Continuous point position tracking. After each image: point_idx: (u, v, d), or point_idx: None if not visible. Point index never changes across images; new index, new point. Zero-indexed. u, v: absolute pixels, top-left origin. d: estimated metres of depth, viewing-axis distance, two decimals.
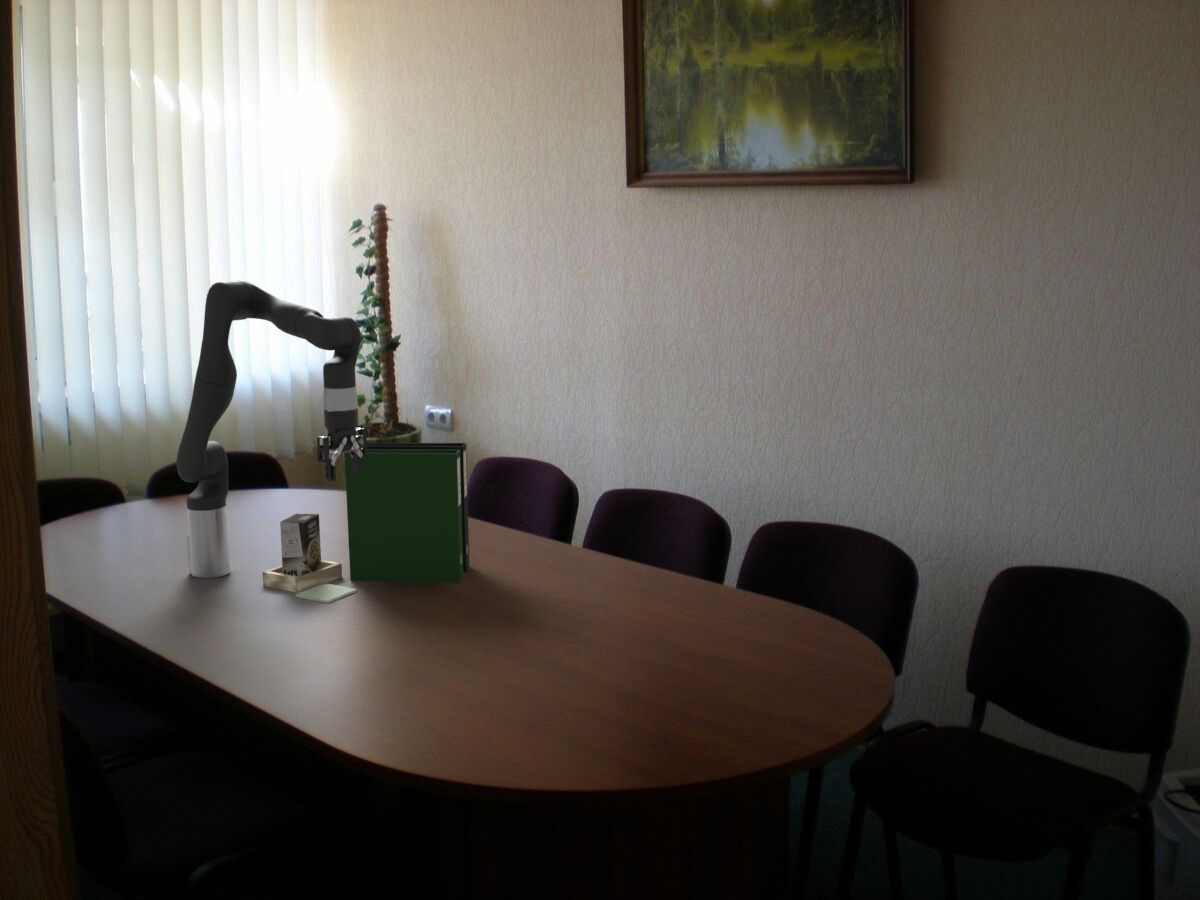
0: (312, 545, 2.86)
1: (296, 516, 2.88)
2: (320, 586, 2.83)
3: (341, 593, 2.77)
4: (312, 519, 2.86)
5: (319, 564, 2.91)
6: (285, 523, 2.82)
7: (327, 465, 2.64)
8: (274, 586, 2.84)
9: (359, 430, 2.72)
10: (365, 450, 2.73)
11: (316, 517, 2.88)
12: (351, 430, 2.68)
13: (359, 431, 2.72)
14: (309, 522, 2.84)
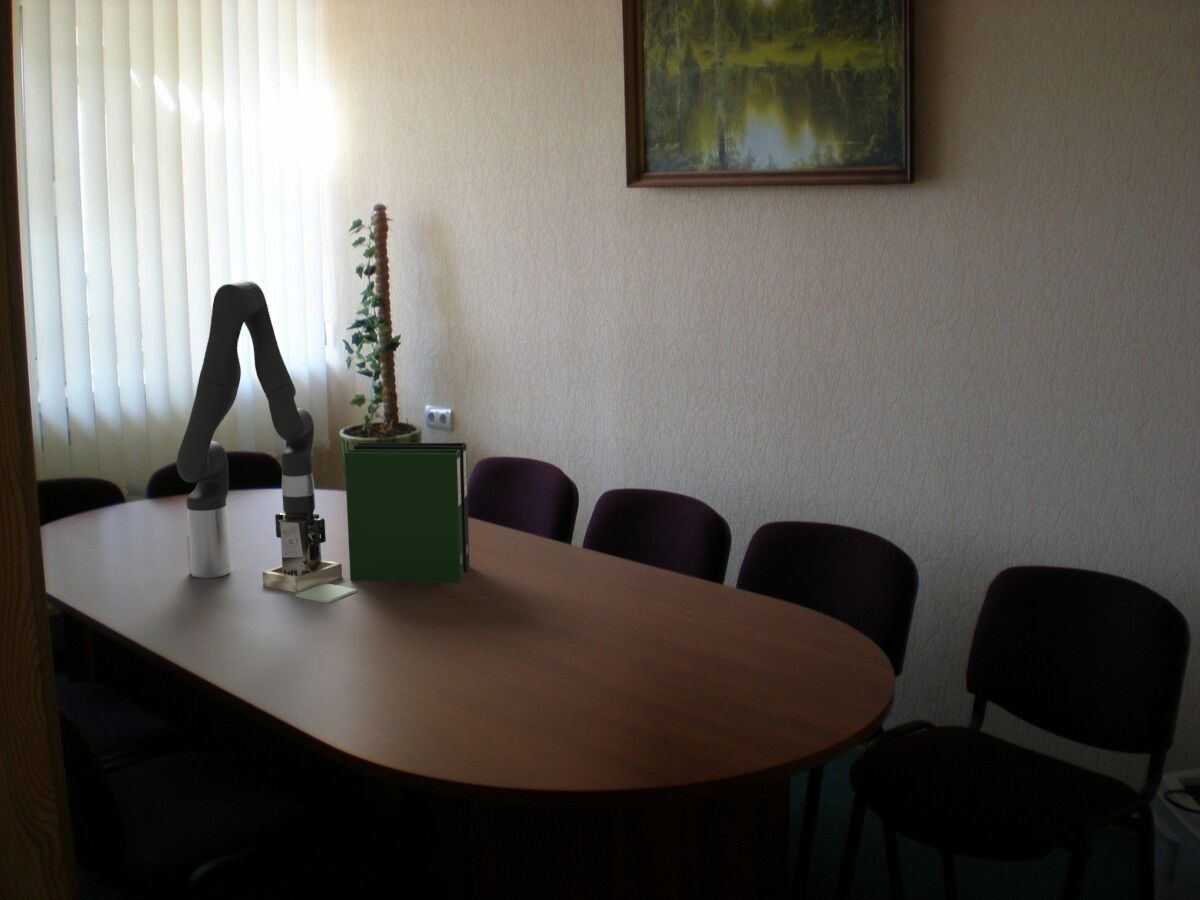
0: None
1: None
2: (320, 586, 2.83)
3: (341, 593, 2.77)
4: None
5: (319, 564, 2.91)
6: (285, 523, 2.82)
7: (317, 545, 2.85)
8: (274, 586, 2.84)
9: None
10: None
11: (316, 517, 2.88)
12: None
13: None
14: None
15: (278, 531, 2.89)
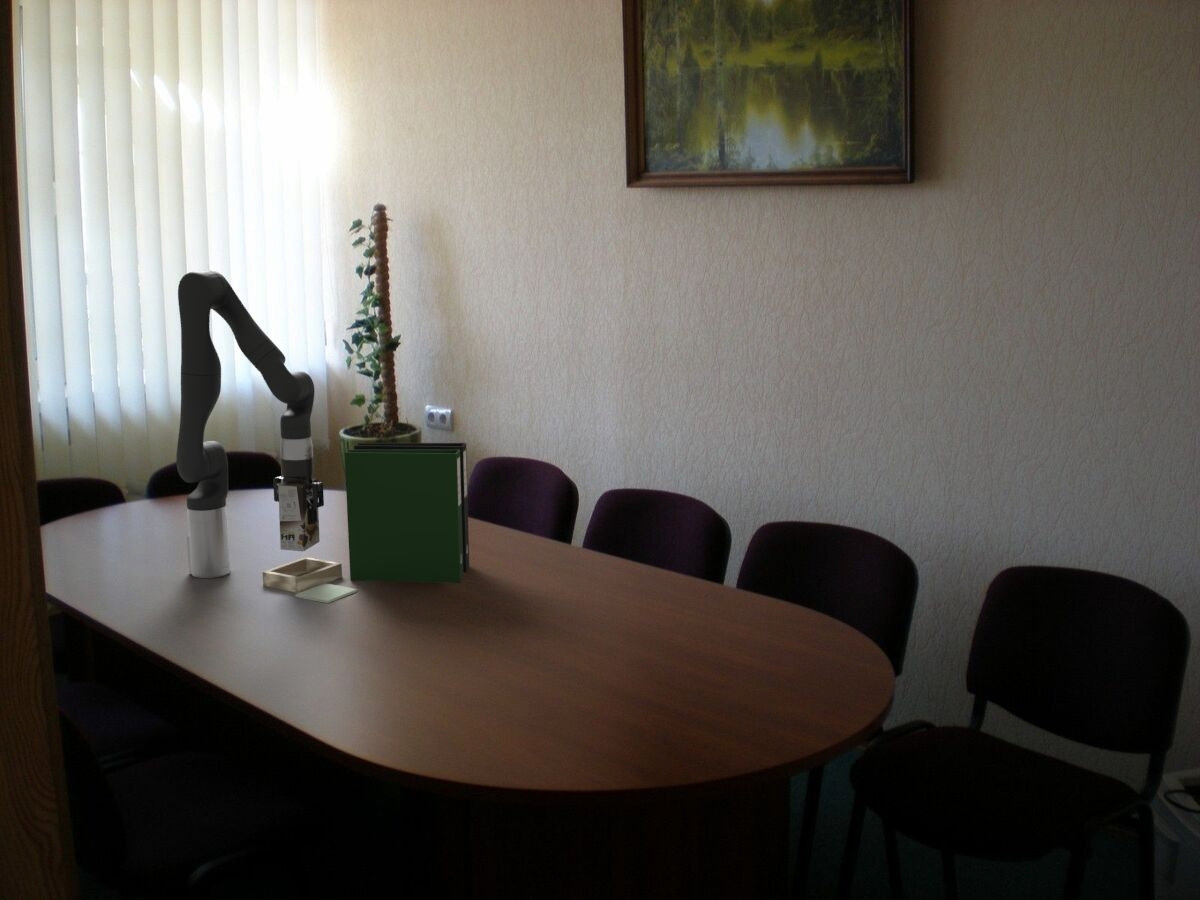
0: None
1: None
2: (320, 586, 2.83)
3: (341, 593, 2.77)
4: None
5: (317, 529, 2.89)
6: (283, 486, 2.81)
7: (315, 509, 2.83)
8: (274, 586, 2.84)
9: None
10: None
11: (314, 481, 2.87)
12: None
13: None
14: None
15: (276, 495, 2.87)
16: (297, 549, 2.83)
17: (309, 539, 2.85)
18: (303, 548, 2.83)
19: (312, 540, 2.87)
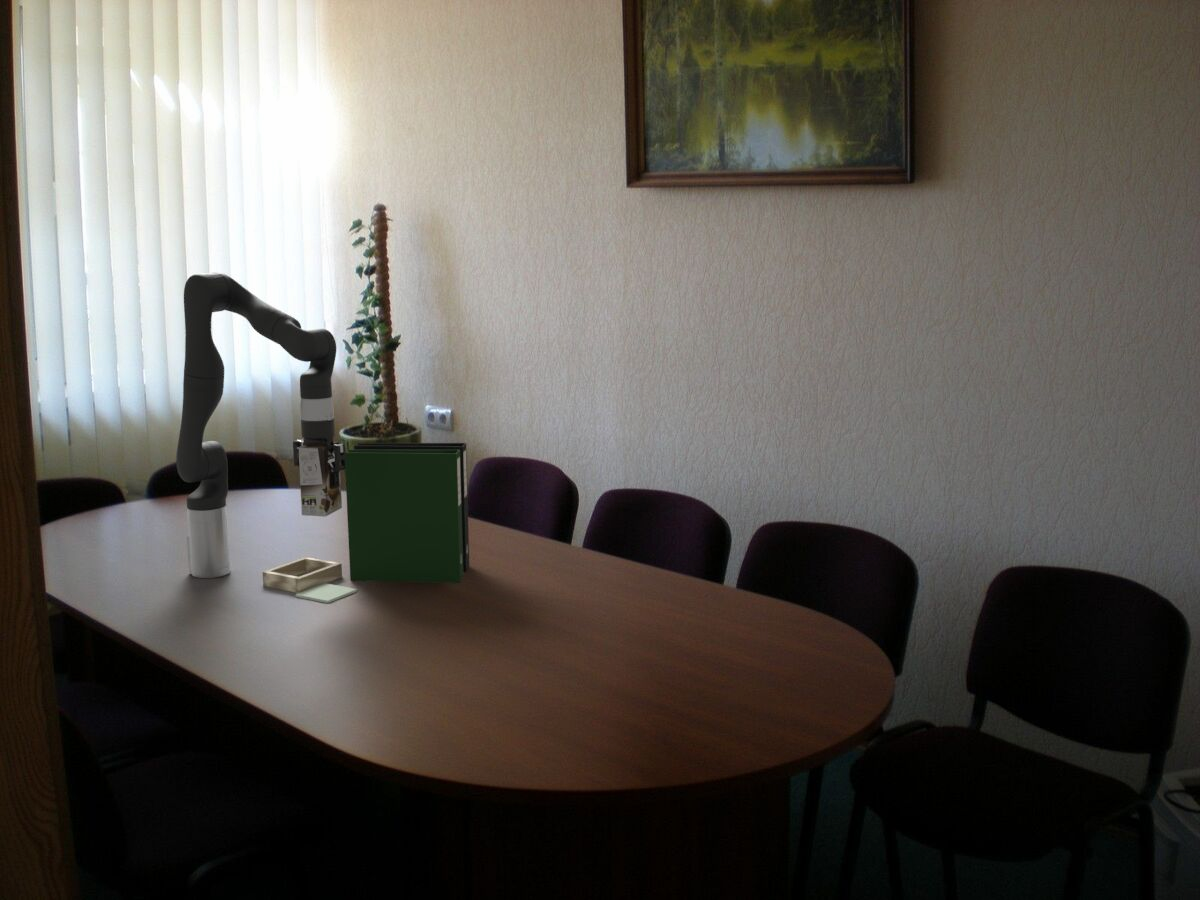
0: None
1: None
2: (320, 586, 2.83)
3: (341, 593, 2.77)
4: None
5: (339, 494, 2.77)
6: (304, 449, 2.69)
7: (337, 472, 2.71)
8: (274, 586, 2.84)
9: None
10: None
11: (336, 444, 2.74)
12: None
13: None
14: None
15: (296, 459, 2.75)
16: (319, 514, 2.71)
17: (331, 504, 2.73)
18: (325, 513, 2.70)
19: (334, 505, 2.75)
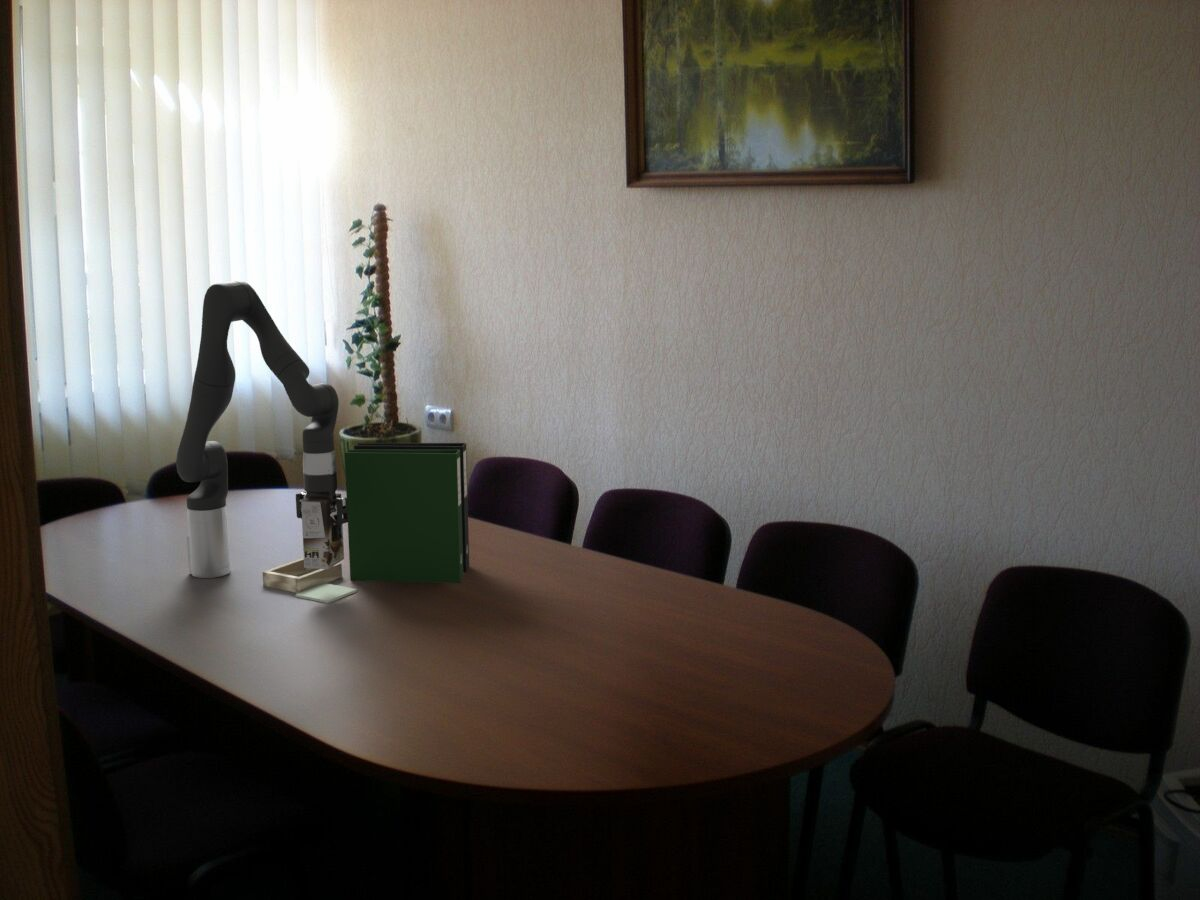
0: None
1: None
2: (320, 586, 2.83)
3: (341, 593, 2.77)
4: None
5: (341, 546, 2.79)
6: (306, 502, 2.71)
7: (339, 525, 2.73)
8: (274, 586, 2.84)
9: None
10: None
11: (338, 496, 2.77)
12: None
13: None
14: None
15: (299, 511, 2.77)
16: (321, 567, 2.73)
17: (334, 556, 2.75)
18: (328, 566, 2.73)
19: (337, 557, 2.77)
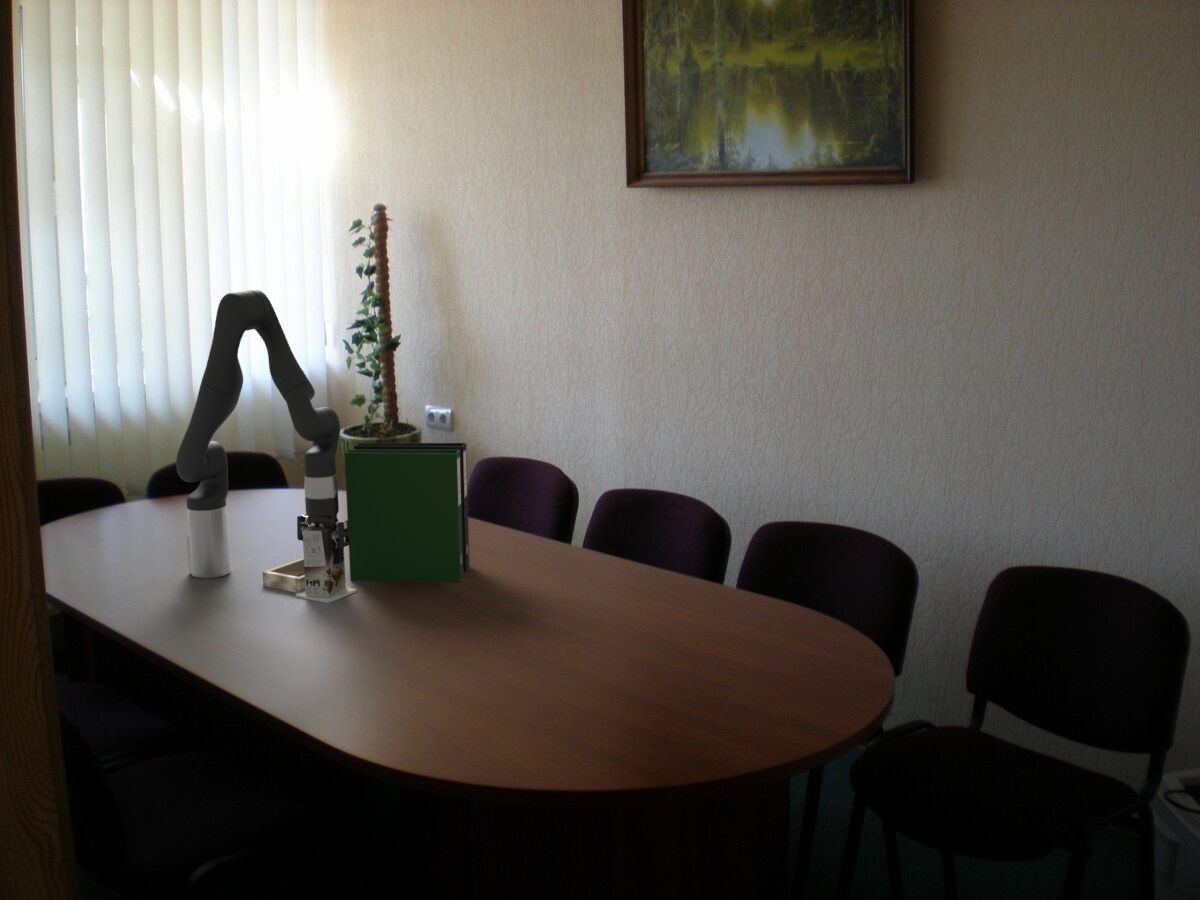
0: None
1: None
2: None
3: (341, 593, 2.77)
4: None
5: (343, 573, 2.81)
6: (308, 531, 2.72)
7: (342, 548, 2.74)
8: (274, 586, 2.84)
9: None
10: None
11: None
12: None
13: None
14: (332, 530, 2.74)
15: (299, 533, 2.78)
16: (322, 595, 2.74)
17: (335, 584, 2.77)
18: (328, 594, 2.74)
19: (338, 585, 2.78)
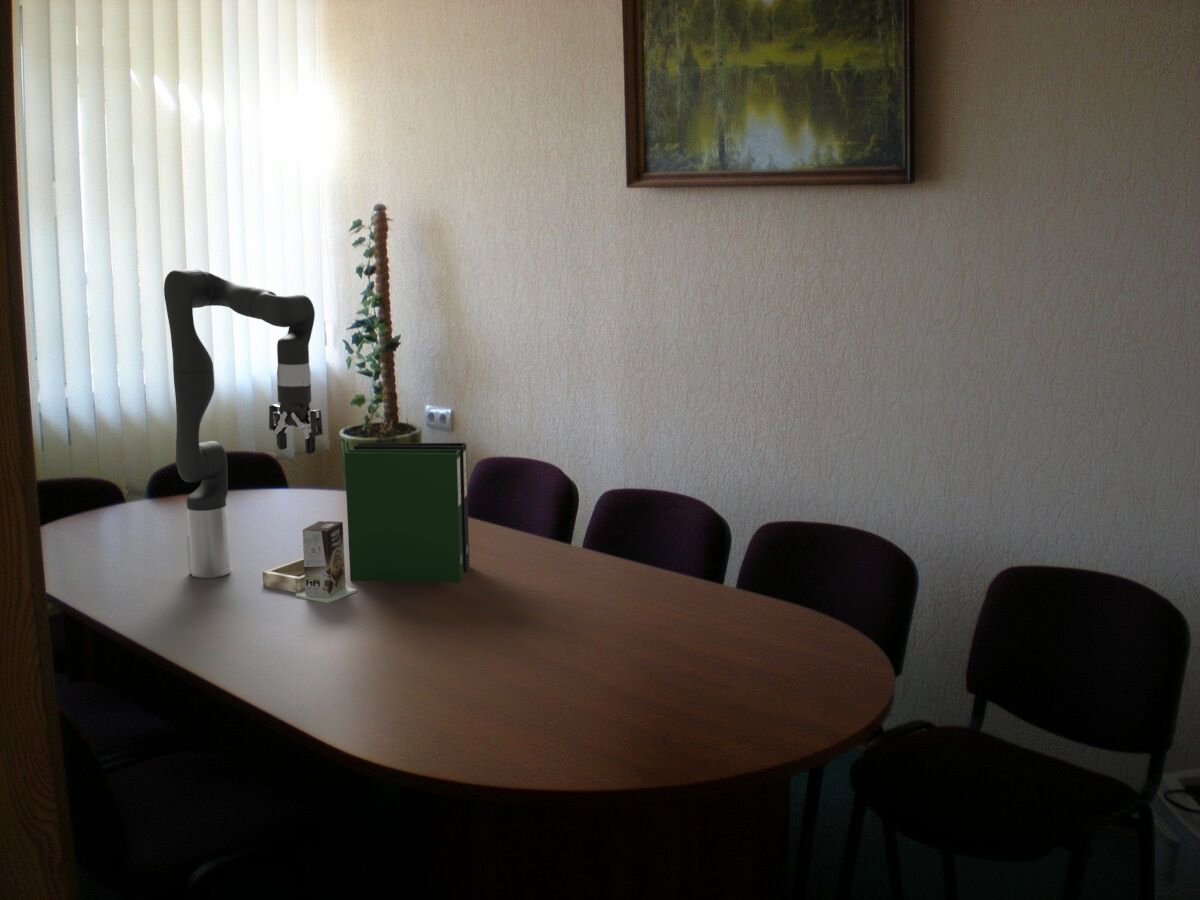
0: (335, 554, 2.76)
1: (319, 524, 2.78)
2: None
3: (341, 593, 2.77)
4: (335, 527, 2.76)
5: (342, 573, 2.81)
6: (308, 531, 2.72)
7: (313, 438, 2.72)
8: (274, 586, 2.84)
9: None
10: None
11: (340, 525, 2.78)
12: None
13: None
14: (332, 530, 2.74)
15: (271, 423, 2.76)
16: (322, 595, 2.74)
17: (335, 584, 2.77)
18: (328, 594, 2.74)
19: (338, 585, 2.78)
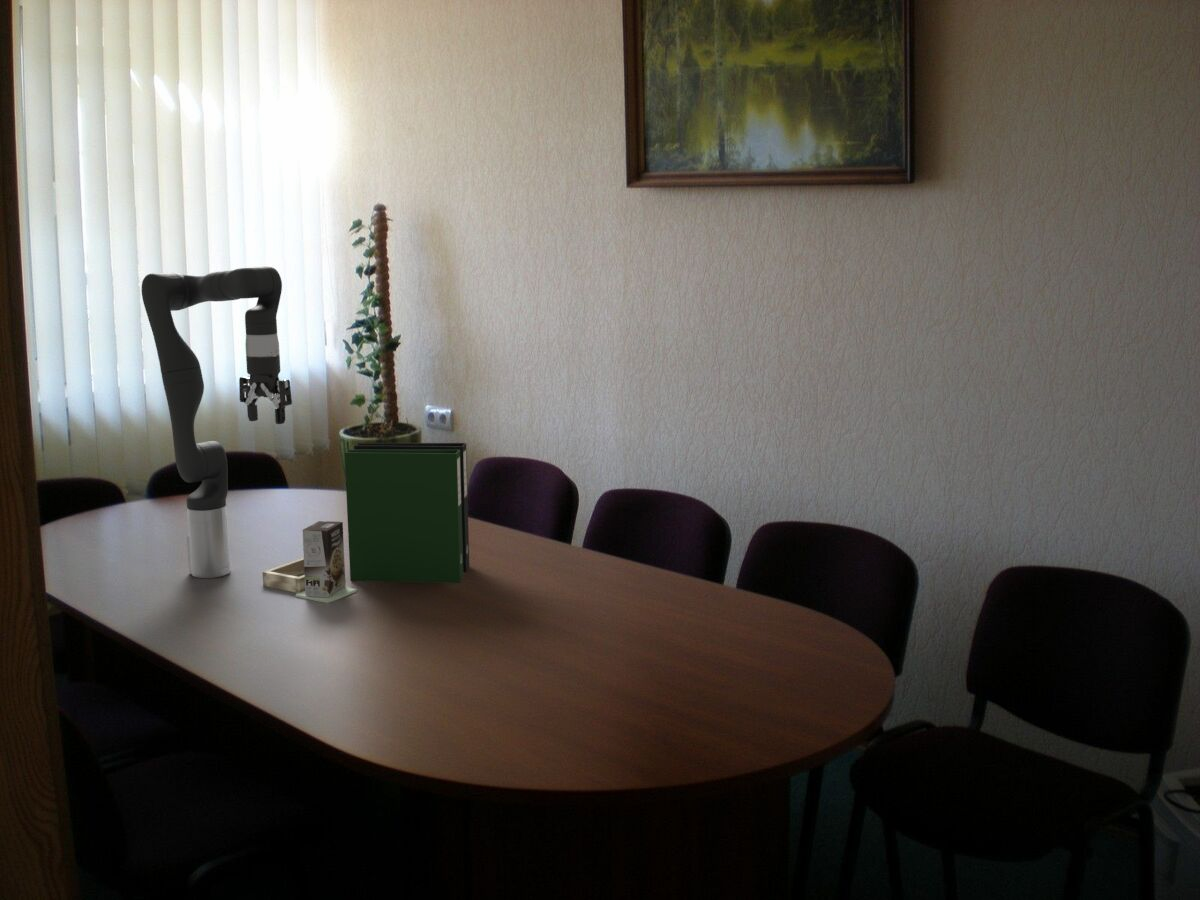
0: (335, 554, 2.76)
1: (319, 524, 2.78)
2: None
3: (341, 593, 2.77)
4: (335, 527, 2.76)
5: (342, 573, 2.81)
6: (308, 531, 2.72)
7: (283, 408, 2.75)
8: (274, 586, 2.84)
9: None
10: None
11: (340, 525, 2.78)
12: None
13: None
14: (332, 530, 2.74)
15: (242, 395, 2.79)
16: (322, 595, 2.74)
17: (335, 584, 2.77)
18: (328, 594, 2.74)
19: (338, 585, 2.78)
